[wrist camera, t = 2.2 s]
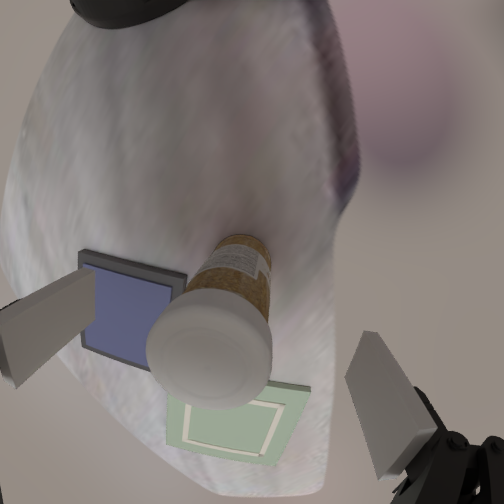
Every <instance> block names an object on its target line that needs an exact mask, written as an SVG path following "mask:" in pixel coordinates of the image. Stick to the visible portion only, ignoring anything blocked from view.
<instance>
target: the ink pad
mask: <svg viewBox="0 0 504 504" xmlns="http://www.w3.org/2000/svg"><path fill="white" fill-rule="evenodd" d="M82 267H85V268H88V269H92V270H95V320H94V321H93V322H92V323H91V324H90V325H88V326H87V327H86V328H85V329H84V330H82V331H81V332H80V333H81V343H82V347H83V348H86V349H88V350H91V351H93V352H96V353H98V354H101V355H103V356H106V357H109V358H111V359H114V360H117V361H119V362H122V363H125V364H128V365H131V366H134V367H137V368H140V369H143V370H146V371H149V372H151V370H150V368H149V366H148V363H147V358H146V341H147V337H148V334H149V332H150V330H151V328H152V326H153V324H154V323H155V322H156V320H157V319H158V317H159V316H160V314H161V313H162V312H163V311H164V309H165V308H166V307H167V306H168V305H169V304H170V303H171V302H172V301H173V300H174V299H176V298H177V297H179V296H180V295H182V294H183V292H184V291H185V288H186V280H187V275H184V274H180V273H175V272H171V271H167V270H163V269H159V268H155V267H151V266H147V265H143V264H139V263H135V262H131V261H127V260H123V259H119V258H116V257H112V256H108V255H104V254H101V253H97V252H93V251H89V250H86V249H83V250H81V251H79V252H78V269H80V268H82Z"/></svg>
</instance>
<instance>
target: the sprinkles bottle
mask: <svg viewBox="0 0 504 504" xmlns="http://www.w3.org/2000/svg"><path fill="white" fill-rule="evenodd" d="M270 271H271V259H270V255H269V253H268V251H267V249H266V247H265V246H264V245H263V244H262V243H261V242H260V241H258V240H257V239H255V238H253V237H252V236H246V235H234V236H230V237H228V238H226V239H225V240H223V241H222V242H221V243H220V244H219V245H218V246H217V247H216V249H215V251H214V252H213V253H212V255H211V256H210V257H209V258H208V259H207V260H206V262H205V263H204V264H203V265H202V267H201V268H200V269H199V270H198V272H197V273H196V274H195V275H194V277H193V278H192V279H191V281H190V282H189V283H188V285H187V287H186V289H185V291H184V292H183V294H182V295H180V296H179V297H177V298H176V299H174V300H173V301H172V302H171V303H170V304H169V305H168V306H167V307H166V308H165V309H164V311H163V312H162V313H161V314H160V316H159V317H158V319H157V320H156V322H155V323H154V324H153V326H152V328H151V330H150V332H149V334H148V337H147V341H146V358H147V363H148V366H149V368H150V370H151V373H152V374H153V376H154V378H155V379H156V381H157V382H158V383H159V384H160V385H161V386H162V388H163V389H164V390H166V391H167V392H168V393H169V394H170V395H172V396H173V397H175V398H176V399H178V400H180V401H182V402H184V403H186V404H188V405H191V406H194V407H197V408H201V409H207V410H228V409H233V408H236V407H239V406H242V405H244V404H246V403H248V402H250V401H252V400H253V399H254V398H256V397H257V396H258V395H259V394H260V393H261V392H262V390H263V389H264V388H265V386H266V385H267V383H268V380H269V378H270V374H271V369H272V335H271V331H270V328H269V326H268V317H269V307H270Z"/></svg>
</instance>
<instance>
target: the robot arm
mask: <svg viewBox="0 0 504 504" xmlns="http://www.w3.org/2000/svg"><path fill="white" fill-rule="evenodd" d="M186 1H187V0H70V3H71V6H72V8H73V9H74V11H75V12H76V13H77V14H78V15H79V16H80V17H82V18H83V19H84V20H86V21H87V22H88V23H90V24H92V25H94V26H96V27H100V28H109V29H110V28H122V27H128V26H132V25H136V24H139V23H143V22H146V21H148V20H151V19H154V18H156V17H158V16H160V15H163V14H165V13H167V12H169V11H171V10H173V9H174V8H176V7H178V6H180V5H181V4H183V3H184V2H186ZM94 320H95V270H92V269H88V268H85V267H82V268H80V269H78V270H76V271H74V272H72V273H70V274H68V275H66V276H64V277H62V278H61V279H59V280H57V281H55V282H53V283H51V284H49V285H47V286H45V287H43V288H41V289H39V290H38V291H36V292H34V293H32V294H30V295H28V296H26V297H25V298H22V299H19V300H16V301H14V302H12V303H10V304H9V306H8V305H7V306H5V307H3V308H2V309H0V370H1V373H2V377H3V380H4V381H5V382H6V383H8V384H9V385H11V386H12V387H14V388H15V389H17V388H18V387H19V386H20V385H21V384H23V383H24V382H25V381H26V380H27V379H28V378H29V377H30V376H31V375H32V374H33V373H34V372H36V371H37V370H38V369H39V368H40V367H41V366H42V365H43V364H45V363H46V362H47V361H48V360H49V359H50V358H51V357H52V356H54V355H55V354H56V353H57V352H58V351H59V350H60V349H62V348H63V347H64V346H65V345H66V344H67V343H68V342H70V341H71V340H72V339H73V338H74V337H75V336H77V335H78V334H79V333H80V332H81V331H82V330H84V329H85V328H86V327H87V326H88V325H90V324H91V323H92V322H93V321H94ZM345 379H346V383H347V385H348V388H349V391H350V394H351V397H352V400H353V403H354V406H355V409H356V412H357V415H358V418H359V421H360V424H361V427H362V430H363V433H364V436H365V439H366V442H367V446H368V449H369V452H370V455H371V458H372V462H373V465H374V468H375V471H376V475H377V478H378V480H379V481H380V480H389V479H396V478H397V477H398V476H399V475H400V474H401V473H402V472H403V470H404V469H405V470H406V473H407V475H408V476H407V477H406V478H405V479H404V480H403V482H402V483H401V484H400V485H399V486H398V487H397V488H396V489H395V490H394V491H393V492H392V493H395V492H396V491H397V490H398V491H397V493H396V495H395V496H394V498H393V500H392V502H391V503H390V504H504V440H503V439H502V438H500V437H497V436H489V437H488V438H486V440H485V441H484V442H483V444H482V445H481V446H479V445H470V444H469V442H468V440H467V439H466V438H465V437H464V436H463V435H462V434H460V433H458V432H454V431H448V430H447V429H446V427H445V425H444V424H443V422H442V421H441V419H440V417H439V416H438V414H437V413H436V411H435V410H434V408H433V406H432V404H430V401H429V400H428V398H427V397H426V395H425V394H424V393H423V392H422V391H421V390H420V389H419V388H417V387H413V386H412V384H411V383H410V381H409V380H408V378H407V377H406V375H405V373H404V372H403V370H402V369H401V367H400V365H399V364H398V362H397V361H396V360H395V358H394V357H393V355H392V354H391V352H390V350H389V349H388V347H387V346H386V344H385V343H384V341H383V340H382V338H381V337H380V335H379V334H378V333H377V332H370V331H364V332H363V334H362V337H361V339H360V342H359V345H358V347H357V349H356V352H355V354H354V356H353V359H352V361H351V363H350V366H349V368H348V370H347V373H346V375H345ZM479 486H480V492H479V493H478V494H477V495H476V489H477V488H478V487H479ZM0 504H3V499H2V493H1V488H0Z"/></svg>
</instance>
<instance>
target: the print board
mask: <svg viewBox="0 0 504 504" xmlns="http://www.w3.org/2000/svg"><path fill="white" fill-rule="evenodd" d="M310 394H311V389H310V387H306V386H299V385H292V384H285V383H279V382H273V381H268V383H267V385H266V386H265V388H264V389H263V390H262V392H261V393H260V394H259V395H258V396H257V397H256V398H254V399H253V400H252V401H250V402H248V403H246V404H244V405H242V406H239V407H236V408H233V409H228V410H207V409H201V408H197V407H194V406H191V405H188V404H186V403H184V402H182V401H180V400H178V399H176V398H175V397H173V396H172V395H170V394H169V393H168V398H167V422H166V445H170V446H173V447H177V448H180V449H184V450H188V451H192V452H196V453H200V454H205V455H209V456H214V457H219V458H224V459H229V460H234V461H240V462H247V463H253V464H261V465H269V466H276V464H277V462H278V460H279V458H280V457H281V455H282V453H283V451H284V449H285V447H286V445H287V443H288V441H289V439H290V437H291V435H292V433H293V431H294V429H295V427H296V424H297V422H298V420H299V418H300V416H301V414H302V412H303V409H304V407H305V405H306V403H307V400H308V398H309V396H310Z"/></svg>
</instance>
